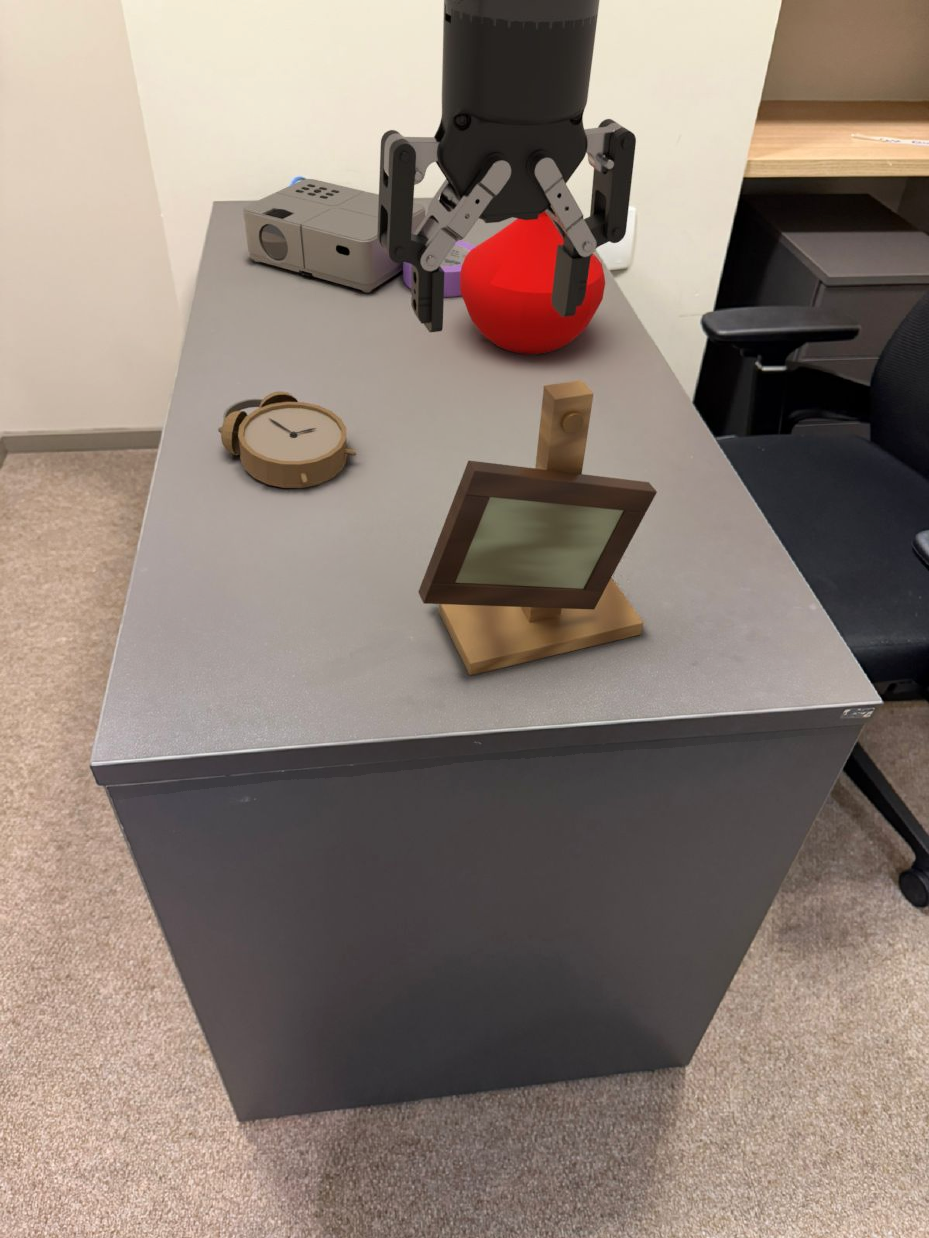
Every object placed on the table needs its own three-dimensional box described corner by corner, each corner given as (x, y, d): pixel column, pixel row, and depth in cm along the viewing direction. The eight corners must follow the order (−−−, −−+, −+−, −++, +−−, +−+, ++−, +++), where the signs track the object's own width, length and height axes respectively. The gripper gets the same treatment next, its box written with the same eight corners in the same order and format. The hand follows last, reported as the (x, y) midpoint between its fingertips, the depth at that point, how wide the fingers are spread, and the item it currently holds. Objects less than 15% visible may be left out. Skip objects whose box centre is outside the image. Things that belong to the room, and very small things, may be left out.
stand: (469, 676, 74) (482, 436, 58) (438, 613, 80) (443, 378, 64) (640, 634, 78) (696, 401, 63) (601, 577, 84) (642, 348, 68)
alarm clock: (292, 480, 88) (191, 404, 93) (290, 516, 92) (194, 441, 97) (371, 435, 95) (273, 365, 100) (367, 470, 99) (273, 401, 103)
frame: (423, 603, 69) (474, 470, 62) (417, 592, 69) (468, 459, 63) (594, 609, 76) (657, 492, 69) (587, 599, 77) (648, 481, 70)
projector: (311, 227, 144) (306, 175, 138) (429, 258, 137) (429, 204, 131) (244, 262, 133) (237, 208, 128) (368, 297, 126) (366, 241, 120)
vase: (563, 300, 127) (579, 155, 114) (620, 360, 115) (646, 205, 102) (440, 315, 123) (442, 165, 109) (486, 379, 110) (494, 218, 97)
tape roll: (491, 295, 128) (492, 268, 125) (410, 299, 126) (410, 272, 123) (473, 262, 136) (474, 236, 133) (397, 266, 134) (397, 240, 131)
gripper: (619, -16, 48) (579, 283, 59) (358, -15, 44) (368, 305, 55) (689, 12, 43) (630, 334, 54) (401, 16, 39) (402, 361, 50)
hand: (498, 319), depth 54 cm, fingers open, 8 cm apart
